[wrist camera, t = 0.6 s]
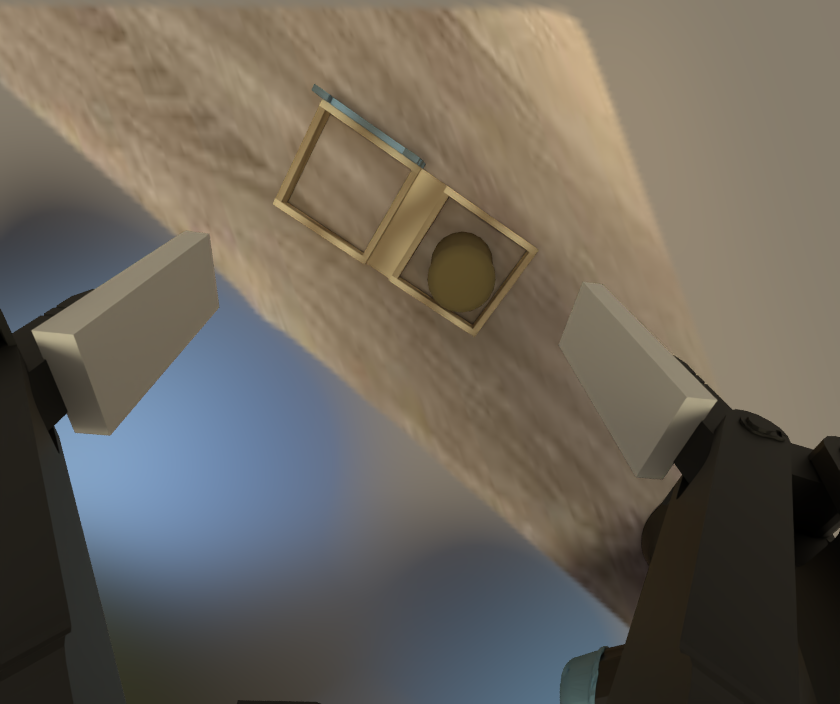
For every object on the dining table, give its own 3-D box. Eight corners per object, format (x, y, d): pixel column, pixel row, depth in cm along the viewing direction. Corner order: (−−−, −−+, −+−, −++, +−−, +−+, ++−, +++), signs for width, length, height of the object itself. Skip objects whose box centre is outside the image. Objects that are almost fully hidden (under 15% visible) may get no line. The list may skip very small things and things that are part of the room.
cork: (441, 223, 39) (434, 228, 29) (501, 243, 39) (515, 255, 29) (423, 283, 41) (410, 308, 31) (480, 301, 41) (485, 332, 31)
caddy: (539, 243, 39) (548, 248, 35) (473, 332, 42) (475, 346, 38) (330, 97, 37) (313, 82, 32) (279, 204, 40) (257, 203, 36)
